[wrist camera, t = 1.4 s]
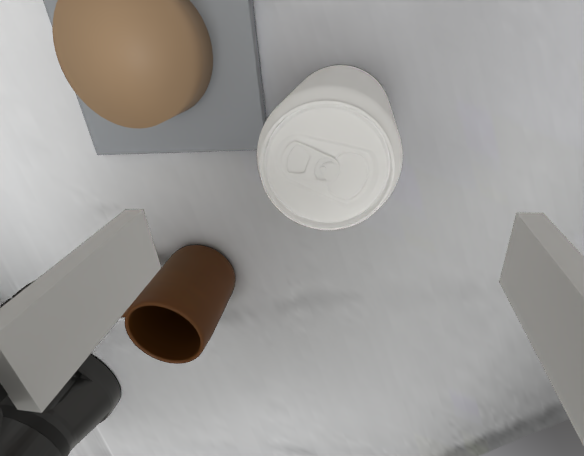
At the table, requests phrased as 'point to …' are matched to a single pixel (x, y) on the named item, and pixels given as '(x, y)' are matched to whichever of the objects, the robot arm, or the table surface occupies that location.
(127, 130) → the pedestal
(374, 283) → the table surface
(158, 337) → the mug
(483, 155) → the table surface
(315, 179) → the beverage can
